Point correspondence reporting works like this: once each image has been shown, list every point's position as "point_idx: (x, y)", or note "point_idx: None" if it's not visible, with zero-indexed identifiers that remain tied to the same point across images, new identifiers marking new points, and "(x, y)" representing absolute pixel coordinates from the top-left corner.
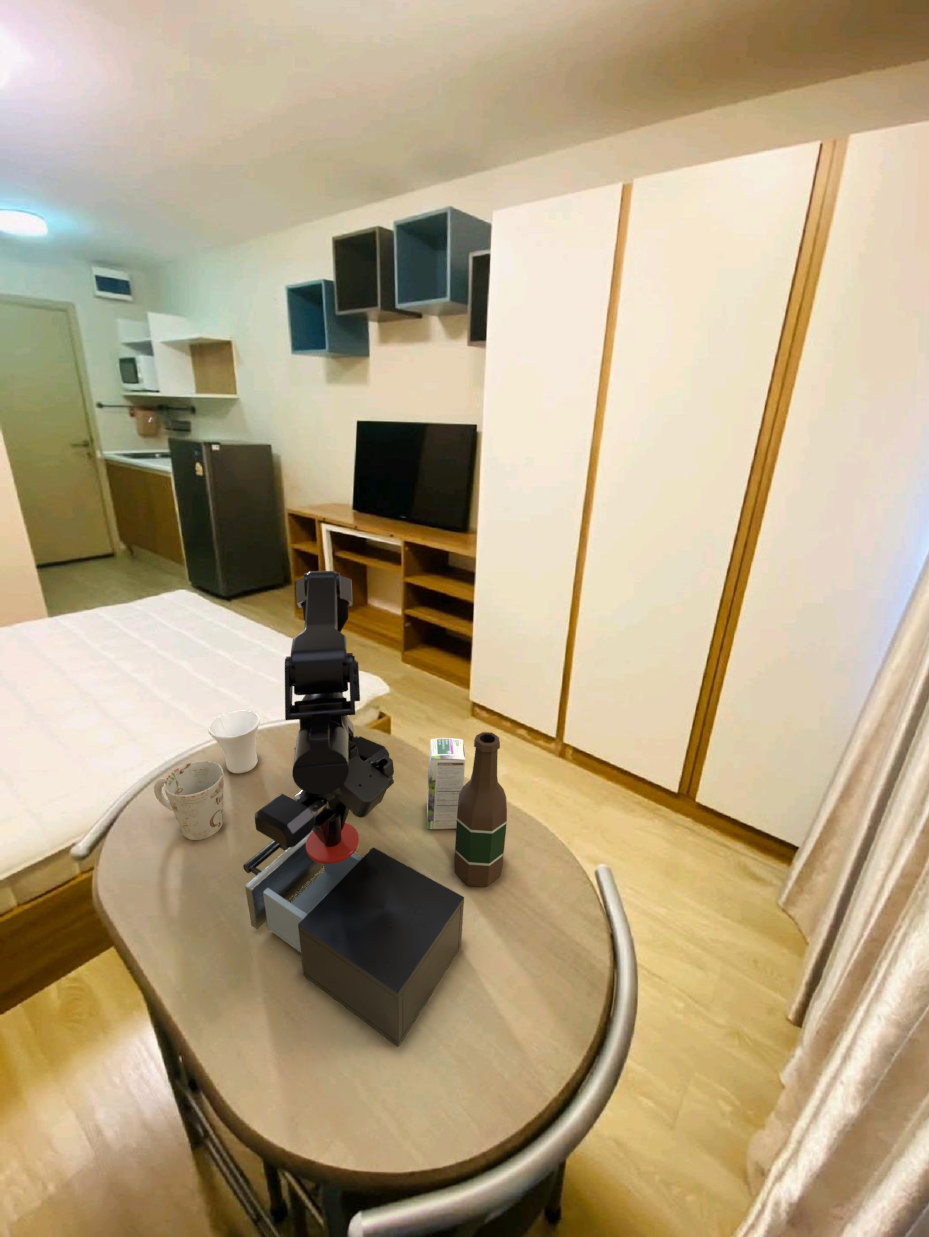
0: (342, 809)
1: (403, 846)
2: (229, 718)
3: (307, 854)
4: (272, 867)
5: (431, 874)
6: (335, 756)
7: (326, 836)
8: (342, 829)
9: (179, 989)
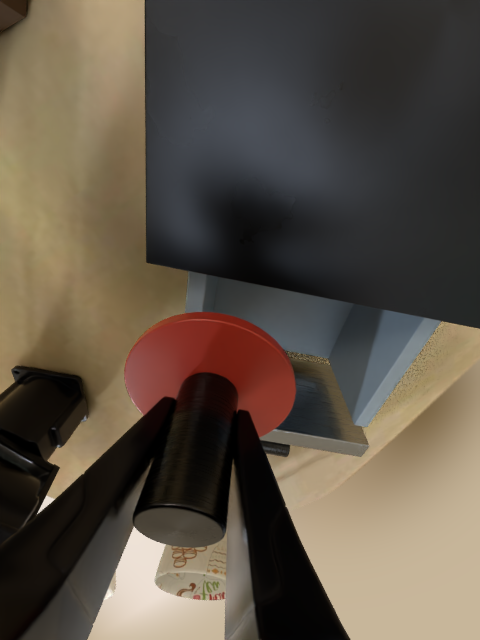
0: (117, 509)
1: (62, 222)
2: None
3: None
4: (306, 440)
5: (78, 104)
6: None
7: (254, 449)
8: (155, 387)
9: (420, 394)
